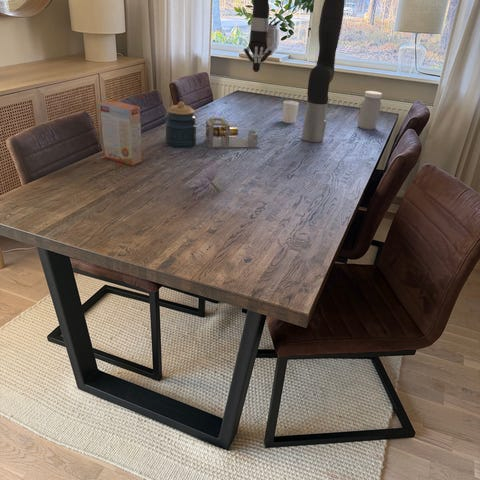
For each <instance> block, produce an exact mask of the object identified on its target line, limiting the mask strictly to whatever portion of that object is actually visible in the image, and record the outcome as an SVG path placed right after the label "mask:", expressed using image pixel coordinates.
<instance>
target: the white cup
mask: <svg viewBox="0 0 480 480" xmlns="http://www.w3.org/2000/svg"><path fill="white" fill-rule="evenodd" d="M282 105H283V107H282V122H283V123H285V124H295V123H296V120H297V115H298V110H299V105H300V103H299V102H298V101H297V100H296V101H295V100H284V101H283V104H282Z"/></svg>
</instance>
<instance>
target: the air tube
mask: <svg viewBox="0 0 480 480" xmlns="http://www.w3.org/2000/svg"><path fill="white" fill-rule="evenodd" d="M206 134H207V137H209V127H207V129H206V128H205V135H206ZM238 136H239V129H238V127H237V126H230V135H229V138H230V137H231V138H232V137H233V138H234V137H235V138H236V137H238ZM214 137H216V138H221V137H225V127H222V126H214V128H213V138H214Z"/></svg>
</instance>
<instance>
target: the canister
mask: <svg viewBox="0 0 480 480" xmlns="http://www.w3.org/2000/svg"><path fill="white" fill-rule="evenodd" d="M166 109H167V110H166V111H167V113H165V115H164V117H165V118H166V120H165V143H166V145H168V146H169V147H172V148H179V149H186V148H188V149H189V148H193V147H194V146H195V145H196V142H197V123H196V119H197V114H195V112H196V110H195V109H194V108H192V106H189V105H186V104H185V102H183V101H178V103H177V104H174V105H171V106H169V107H168V108H166Z"/></svg>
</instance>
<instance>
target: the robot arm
mask: <svg viewBox="0 0 480 480" xmlns="http://www.w3.org/2000/svg"><path fill="white" fill-rule="evenodd" d="M252 1H253V2H252V3H253V6H252V17H251V22H250V35H249V43H248V46H247V47H245V48H243V52H244V54H245V55H246V57H247V58H248V60H249V61H250V62H252V70H253V72H254V73H258V72H259V71H260V68H261V63H264V62H265V61H266V60H267V59H268V57H269V56H271V54H272V49H270V48H269V47H268V46H269V45H268V34H269V23H270V22H269V17H270V4H269V0H252ZM345 1H346V0H324V1H323V4H322V7H321V12H320V17H319V24H318V46H319V47H318V48H319V49H318V56H317V60H316V66H314V67H313V68H312V69H311V70H310V73H309V77H308V83H307V91H306V92H307V93H306V94H307V100H306V107H305V114H304V122H303V128H302V134H301V139H302V140H303V141H305V142H308V143H309V142H310V143H320V142H323V141H324V137H325V130H326V126H327V120H326V114H327V108H328V105H329V104H328V103H329V90H330V89H329V87H330V83H331V82H332V80H333V78H334V75H335V63H336V62H335V61H336V54H337V48H338V45H339V39H340V35H341V30H342V25H343V19H344V13H345V12H344V11H345V3H346V2H345ZM250 52H251V54H252V55H251V54H250Z"/></svg>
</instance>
